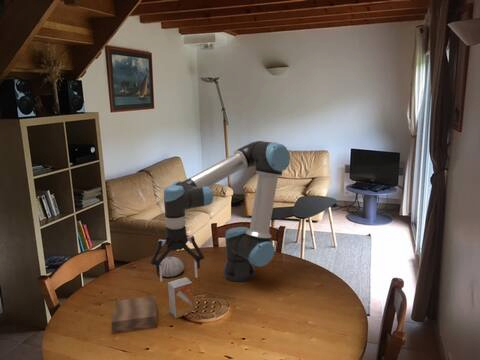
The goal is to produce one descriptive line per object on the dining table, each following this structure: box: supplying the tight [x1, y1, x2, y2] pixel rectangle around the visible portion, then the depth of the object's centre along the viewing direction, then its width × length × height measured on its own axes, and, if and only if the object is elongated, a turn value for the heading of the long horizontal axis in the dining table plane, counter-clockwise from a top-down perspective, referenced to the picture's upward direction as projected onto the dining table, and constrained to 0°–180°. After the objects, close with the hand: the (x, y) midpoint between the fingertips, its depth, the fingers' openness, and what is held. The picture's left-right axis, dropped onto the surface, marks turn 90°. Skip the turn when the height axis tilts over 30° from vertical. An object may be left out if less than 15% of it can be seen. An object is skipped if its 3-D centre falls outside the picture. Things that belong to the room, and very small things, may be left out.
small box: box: [167, 276, 195, 319], centre depth 161 cm, size 8×6×13 cm
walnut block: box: [111, 295, 158, 334], centre depth 158 cm, size 16×16×5 cm
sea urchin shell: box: [158, 256, 185, 278], centre depth 198 cm, size 13×14×8 cm
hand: (178, 278), depth 159 cm, fingers open, 13 cm apart
